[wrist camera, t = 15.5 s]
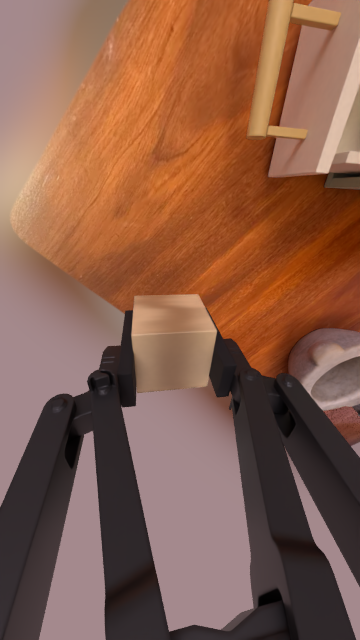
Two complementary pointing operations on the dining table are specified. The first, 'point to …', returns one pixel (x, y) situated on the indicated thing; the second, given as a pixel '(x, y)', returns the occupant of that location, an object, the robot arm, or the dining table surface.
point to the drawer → (311, 89)
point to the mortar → (328, 366)
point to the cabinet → (343, 181)
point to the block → (171, 342)
